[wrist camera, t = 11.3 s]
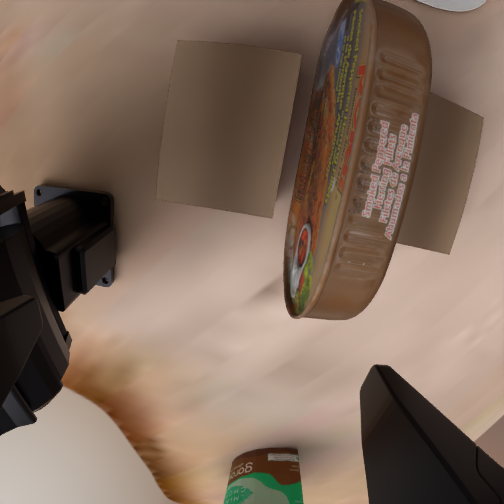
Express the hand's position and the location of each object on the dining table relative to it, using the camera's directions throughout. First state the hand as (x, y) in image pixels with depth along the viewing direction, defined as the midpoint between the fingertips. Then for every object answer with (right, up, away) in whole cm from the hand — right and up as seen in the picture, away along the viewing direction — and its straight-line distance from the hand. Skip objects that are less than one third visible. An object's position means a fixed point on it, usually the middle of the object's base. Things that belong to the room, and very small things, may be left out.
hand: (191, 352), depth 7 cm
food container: (+1, -20, +21) cm, 29 cm away
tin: (+6, +8, +10) cm, 14 cm away
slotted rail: (+5, +8, +9) cm, 14 cm away
